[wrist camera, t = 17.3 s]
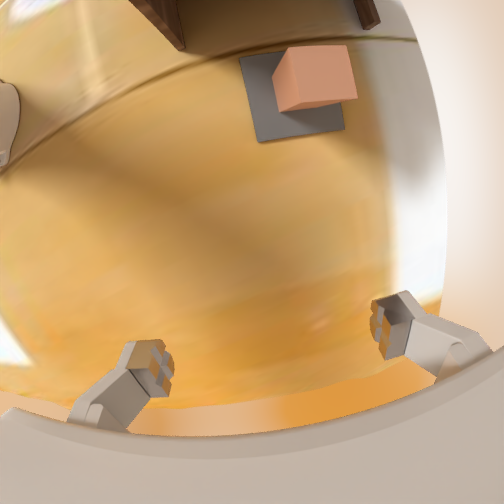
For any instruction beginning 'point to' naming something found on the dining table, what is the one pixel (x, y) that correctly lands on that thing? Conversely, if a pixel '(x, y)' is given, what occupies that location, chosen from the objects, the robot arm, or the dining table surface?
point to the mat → (266, 108)
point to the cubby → (167, 22)
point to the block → (313, 77)
